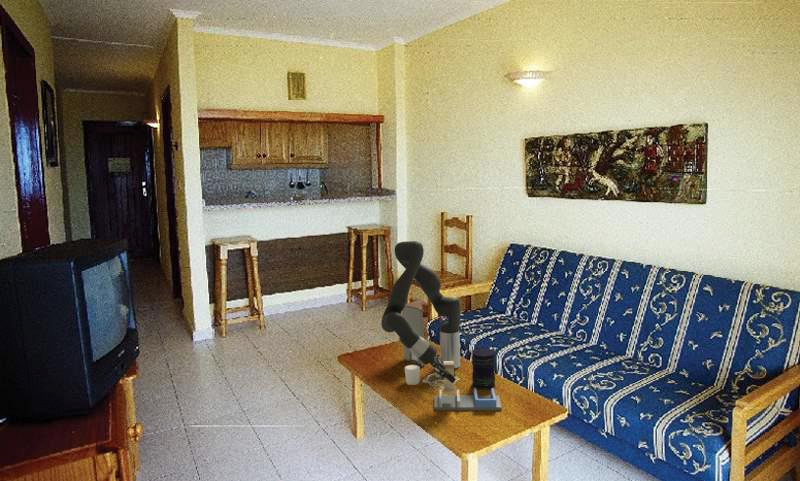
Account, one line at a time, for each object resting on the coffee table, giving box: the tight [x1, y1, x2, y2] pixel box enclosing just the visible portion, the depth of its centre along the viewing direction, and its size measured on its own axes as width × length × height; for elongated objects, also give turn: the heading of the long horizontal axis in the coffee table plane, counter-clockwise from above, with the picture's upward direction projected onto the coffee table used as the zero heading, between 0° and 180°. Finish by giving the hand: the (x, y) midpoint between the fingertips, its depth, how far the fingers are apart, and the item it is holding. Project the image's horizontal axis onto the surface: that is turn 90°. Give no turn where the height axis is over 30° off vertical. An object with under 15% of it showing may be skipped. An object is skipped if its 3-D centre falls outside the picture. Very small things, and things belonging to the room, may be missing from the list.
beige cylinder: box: [404, 364, 421, 386], centre depth 236 cm, size 7×7×7 cm
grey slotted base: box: [433, 387, 503, 411], centre depth 212 cm, size 11×26×4 cm, turn 85°
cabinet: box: [401, 298, 425, 368], centre depth 263 cm, size 21×10×28 cm, turn 179°
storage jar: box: [471, 342, 496, 390], centre depth 229 cm, size 10×10×18 cm
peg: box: [443, 361, 456, 395], centre depth 212 cm, size 4×4×12 cm
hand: (454, 378), depth 212 cm, fingers closed on peg, 4 cm apart
